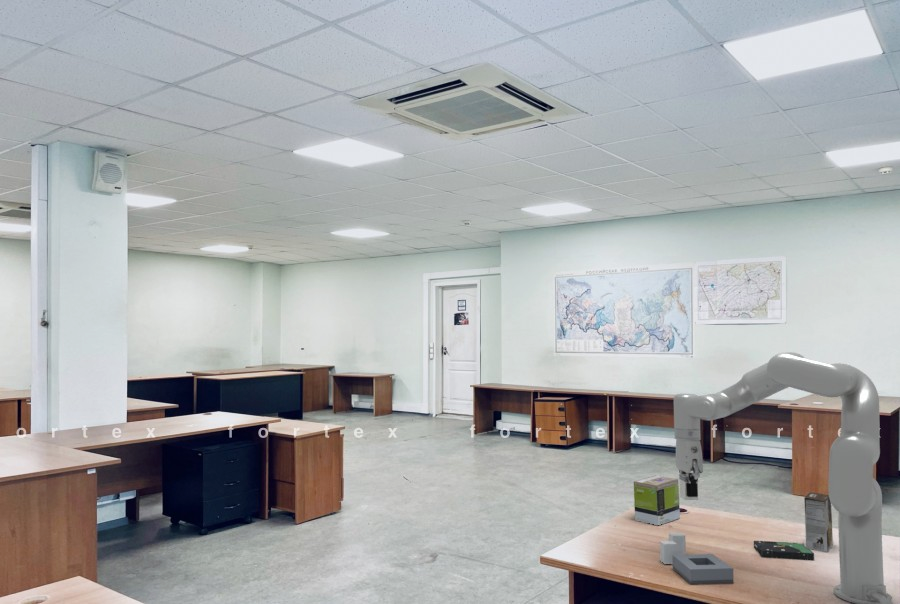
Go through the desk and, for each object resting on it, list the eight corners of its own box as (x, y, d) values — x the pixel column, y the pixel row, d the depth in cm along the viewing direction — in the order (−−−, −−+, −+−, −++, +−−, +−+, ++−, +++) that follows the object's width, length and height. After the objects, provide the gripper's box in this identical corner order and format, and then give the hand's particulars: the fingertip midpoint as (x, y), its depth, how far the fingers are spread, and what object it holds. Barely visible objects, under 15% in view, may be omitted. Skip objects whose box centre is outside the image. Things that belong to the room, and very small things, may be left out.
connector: (698, 499, 197) (697, 476, 198) (685, 500, 197) (684, 476, 197) (692, 496, 201) (692, 473, 202) (679, 496, 201) (679, 473, 201)
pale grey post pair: (697, 564, 193) (696, 543, 193) (664, 565, 192) (664, 544, 192) (681, 552, 204) (681, 532, 204) (650, 552, 203) (650, 533, 203)
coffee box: (811, 541, 214) (809, 491, 215) (833, 545, 210) (831, 494, 211) (805, 548, 207) (803, 497, 208) (828, 552, 203) (826, 500, 204)
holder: (733, 583, 177) (733, 568, 178) (690, 584, 177) (690, 569, 177) (712, 567, 189) (712, 553, 190) (672, 569, 189) (672, 554, 189)
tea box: (656, 513, 249) (655, 474, 250) (680, 519, 241) (679, 478, 242) (633, 520, 239) (633, 480, 240) (658, 526, 232) (657, 484, 233)
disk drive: (762, 559, 198) (815, 562, 195) (762, 550, 198) (814, 552, 196) (753, 549, 208) (803, 551, 206) (752, 540, 209) (803, 542, 206)
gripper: (711, 438, 192) (713, 501, 191) (688, 430, 209) (689, 488, 208) (686, 438, 192) (688, 501, 191) (665, 430, 208) (666, 488, 207)
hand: (688, 494), depth 199 cm, fingers closed on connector, 4 cm apart
